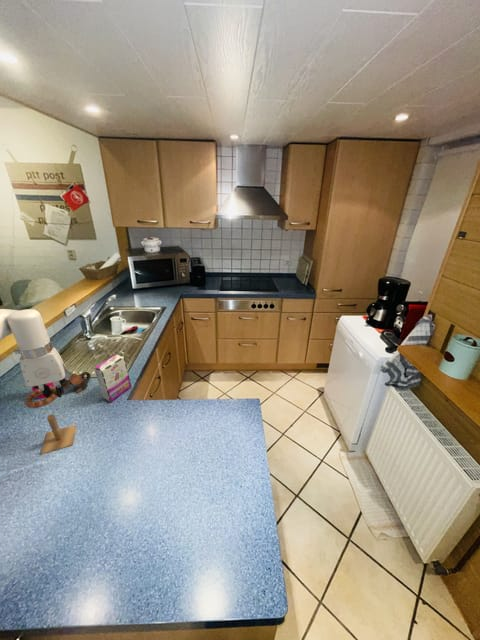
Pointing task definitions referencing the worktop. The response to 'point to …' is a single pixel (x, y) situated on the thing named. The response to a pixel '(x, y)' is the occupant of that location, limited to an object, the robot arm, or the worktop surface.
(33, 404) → the ring
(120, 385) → the candy bar box
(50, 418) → the post
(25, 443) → the worktop surface
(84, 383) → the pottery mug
